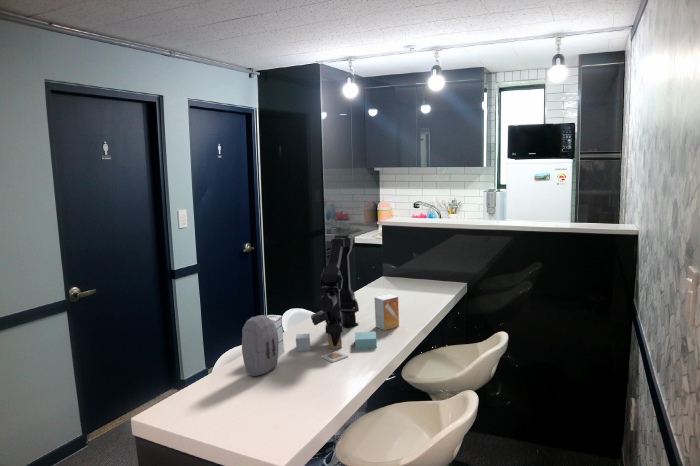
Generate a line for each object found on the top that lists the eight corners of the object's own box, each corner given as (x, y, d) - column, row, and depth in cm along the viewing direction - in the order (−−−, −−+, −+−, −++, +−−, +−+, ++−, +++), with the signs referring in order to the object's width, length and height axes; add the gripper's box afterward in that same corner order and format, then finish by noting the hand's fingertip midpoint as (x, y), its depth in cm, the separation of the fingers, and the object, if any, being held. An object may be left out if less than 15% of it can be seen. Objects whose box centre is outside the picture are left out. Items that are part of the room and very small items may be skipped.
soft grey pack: (268, 362, 184) (264, 308, 182) (287, 365, 180) (283, 310, 177) (240, 378, 172) (234, 321, 169) (259, 382, 167) (254, 323, 165)
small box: (384, 330, 211) (383, 300, 209) (375, 327, 216) (373, 297, 215) (399, 326, 216) (398, 296, 214) (390, 322, 221) (389, 293, 219)
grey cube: (297, 346, 199) (296, 334, 198) (310, 345, 199) (309, 333, 198) (296, 351, 194) (295, 338, 193) (309, 350, 194) (309, 337, 193)
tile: (321, 357, 186) (321, 355, 186) (336, 352, 190) (336, 350, 190) (332, 362, 181) (332, 360, 181) (348, 357, 185) (348, 355, 185)
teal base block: (355, 342, 201) (355, 332, 200) (375, 341, 200) (375, 331, 200) (355, 349, 193) (355, 339, 192) (376, 348, 192) (376, 338, 192)
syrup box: (284, 351, 194) (282, 314, 192) (277, 357, 188) (274, 319, 186) (271, 350, 196) (268, 314, 194) (264, 356, 190) (261, 318, 188)
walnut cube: (328, 344, 199) (328, 331, 199) (341, 343, 199) (340, 330, 199) (328, 348, 194) (327, 336, 194) (341, 347, 194) (341, 335, 194)
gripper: (312, 298, 204) (314, 336, 206) (310, 312, 185) (313, 353, 187) (340, 297, 204) (342, 334, 206) (341, 310, 185) (343, 351, 188)
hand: (335, 343), depth 197 cm, fingers closed on walnut cube, 5 cm apart
